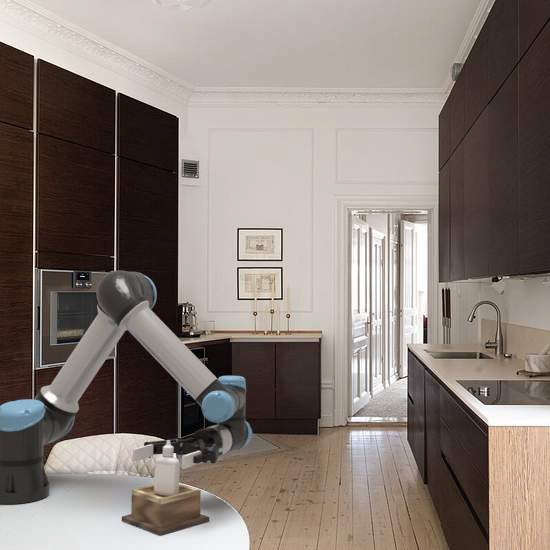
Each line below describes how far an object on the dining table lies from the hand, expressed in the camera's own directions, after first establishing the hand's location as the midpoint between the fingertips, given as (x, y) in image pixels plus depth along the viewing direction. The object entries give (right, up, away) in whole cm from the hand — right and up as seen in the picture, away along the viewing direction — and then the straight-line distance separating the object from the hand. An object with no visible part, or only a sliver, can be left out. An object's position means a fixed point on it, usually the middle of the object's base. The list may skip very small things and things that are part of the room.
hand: (157, 458), depth 155 cm
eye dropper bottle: (+1, -9, +3) cm, 9 cm away
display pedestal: (+1, -15, +2) cm, 15 cm away
